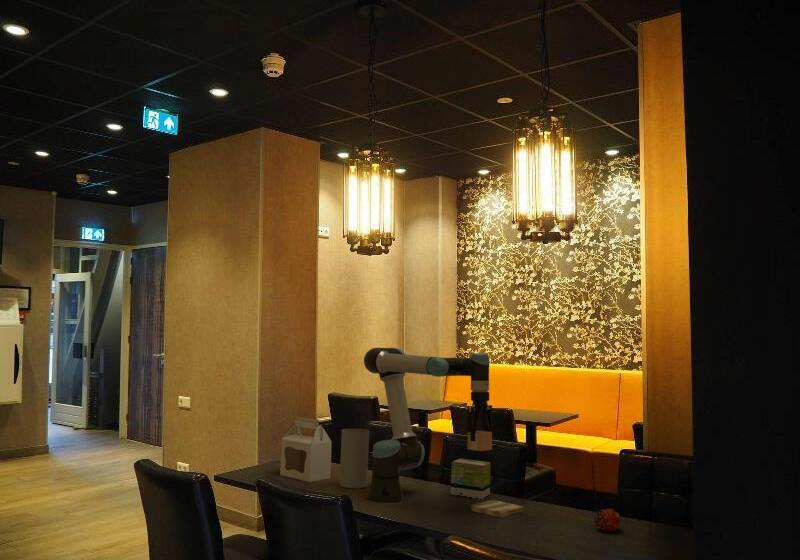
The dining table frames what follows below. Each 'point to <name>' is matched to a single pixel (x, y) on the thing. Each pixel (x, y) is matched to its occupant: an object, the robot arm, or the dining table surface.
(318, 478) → the gable box
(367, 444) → the cylinder vase
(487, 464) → the tea box
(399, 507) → the dining table surface
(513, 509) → the birch board
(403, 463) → the robot arm
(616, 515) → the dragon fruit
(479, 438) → the terracotta cube
